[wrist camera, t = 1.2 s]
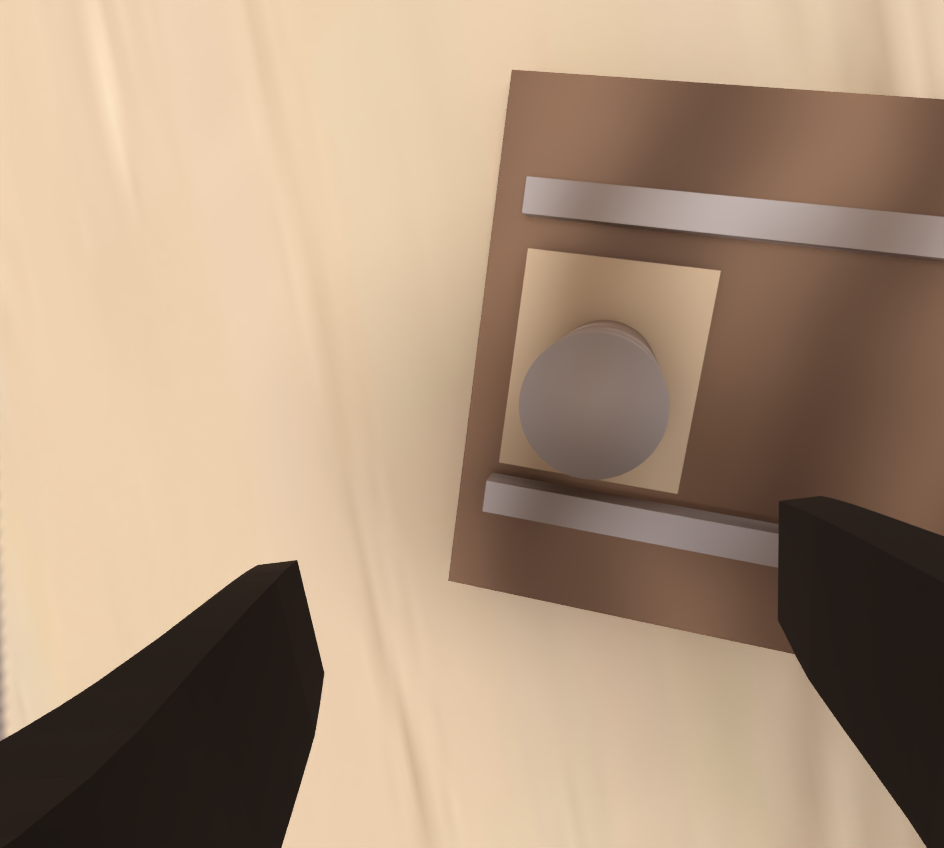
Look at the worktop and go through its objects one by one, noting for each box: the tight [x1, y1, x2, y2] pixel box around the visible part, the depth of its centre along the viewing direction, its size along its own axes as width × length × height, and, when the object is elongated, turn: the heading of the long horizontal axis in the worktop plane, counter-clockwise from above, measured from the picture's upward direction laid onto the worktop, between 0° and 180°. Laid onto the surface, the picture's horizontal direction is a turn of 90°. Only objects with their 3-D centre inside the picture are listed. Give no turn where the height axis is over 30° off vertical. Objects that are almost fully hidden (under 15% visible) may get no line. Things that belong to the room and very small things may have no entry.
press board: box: [448, 70, 944, 654], centre depth 19 cm, size 22×16×5 cm
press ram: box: [499, 248, 721, 494], centre depth 17 cm, size 5×6×8 cm
